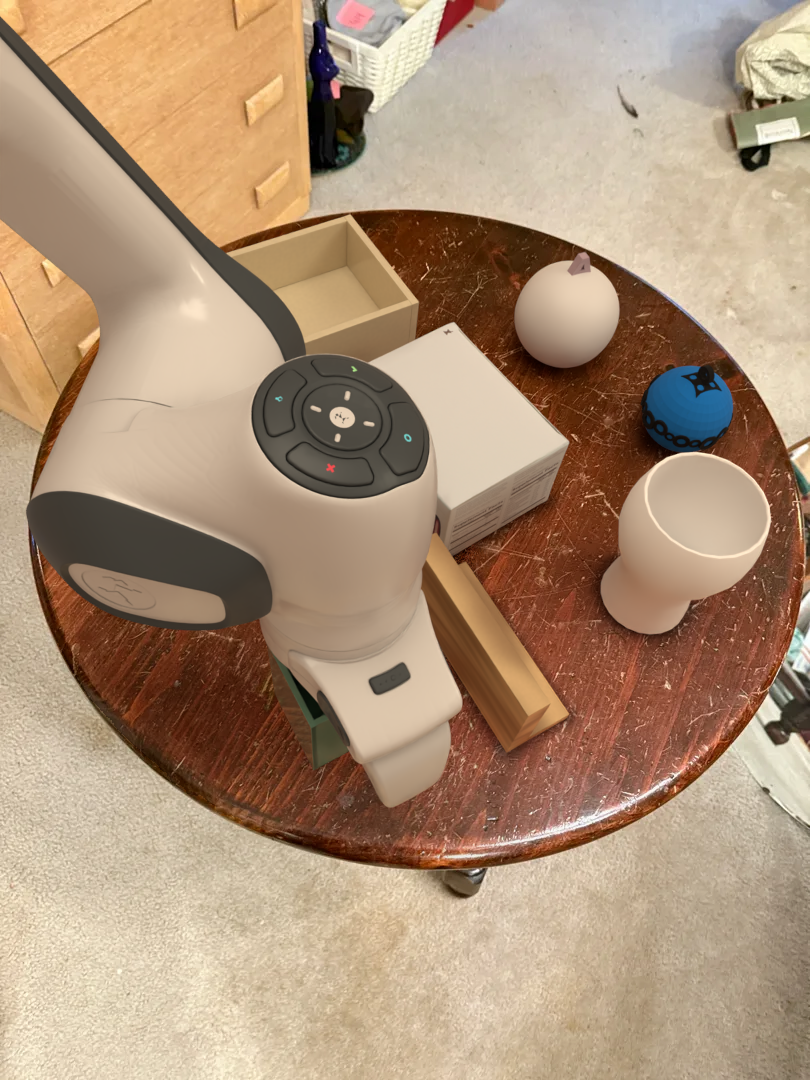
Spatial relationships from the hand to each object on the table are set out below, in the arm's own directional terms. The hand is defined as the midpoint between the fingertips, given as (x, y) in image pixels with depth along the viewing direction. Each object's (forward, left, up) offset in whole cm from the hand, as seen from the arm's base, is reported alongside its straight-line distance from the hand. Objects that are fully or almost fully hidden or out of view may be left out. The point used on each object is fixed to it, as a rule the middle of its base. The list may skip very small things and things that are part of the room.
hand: (335, 686), depth 57 cm
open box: (+17, +40, -9) cm, 44 cm away
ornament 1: (+40, +26, -9) cm, 48 cm away
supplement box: (+21, +18, -9) cm, 29 cm away
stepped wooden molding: (+14, 0, -9) cm, 17 cm away
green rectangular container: (+4, 0, -4) cm, 6 cm away
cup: (+30, -2, -9) cm, 31 cm away
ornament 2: (+44, +11, -9) cm, 46 cm away
